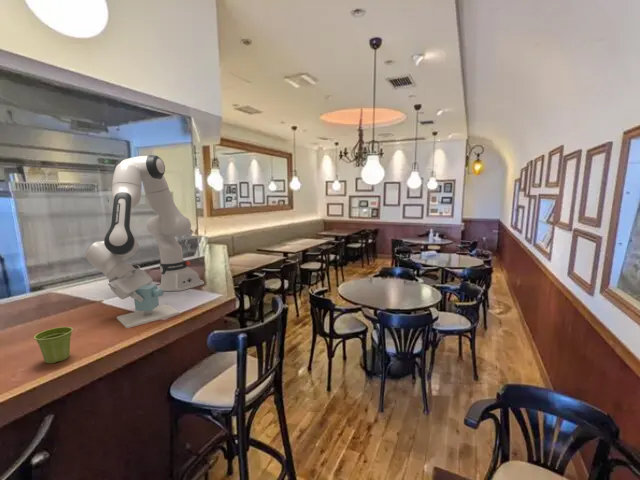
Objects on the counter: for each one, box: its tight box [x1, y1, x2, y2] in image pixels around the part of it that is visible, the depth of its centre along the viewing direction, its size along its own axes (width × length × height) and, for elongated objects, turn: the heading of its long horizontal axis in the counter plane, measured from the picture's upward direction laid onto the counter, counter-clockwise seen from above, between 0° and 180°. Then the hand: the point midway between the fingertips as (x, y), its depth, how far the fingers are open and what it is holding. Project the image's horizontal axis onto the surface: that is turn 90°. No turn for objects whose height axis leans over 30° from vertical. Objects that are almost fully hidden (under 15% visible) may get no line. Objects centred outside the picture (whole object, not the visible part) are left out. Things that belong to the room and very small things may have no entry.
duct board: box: [116, 303, 181, 329], centre depth 138 cm, size 20×14×7 cm
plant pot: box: [33, 326, 74, 364], centre depth 103 cm, size 9×9×9 cm
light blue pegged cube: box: [134, 284, 164, 312], centre depth 137 cm, size 6×10×9 cm
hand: (147, 297), depth 137 cm, fingers closed on light blue pegged cube, 6 cm apart
